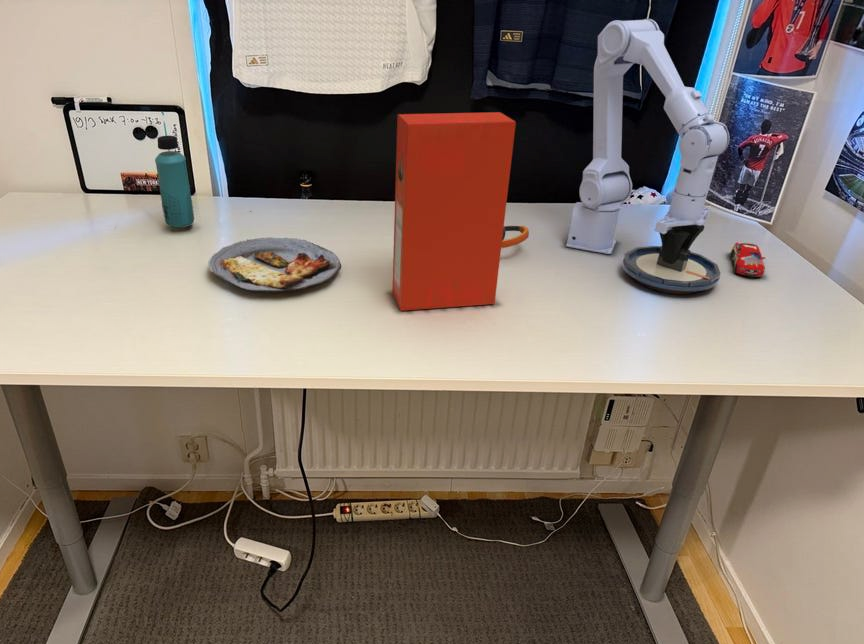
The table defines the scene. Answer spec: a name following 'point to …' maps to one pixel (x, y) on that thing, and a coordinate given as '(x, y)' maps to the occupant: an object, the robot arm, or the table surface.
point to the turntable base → (665, 289)
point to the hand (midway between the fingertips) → (672, 260)
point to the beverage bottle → (174, 184)
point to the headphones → (514, 240)
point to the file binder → (450, 207)
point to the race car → (747, 259)
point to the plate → (671, 269)
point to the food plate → (274, 264)
